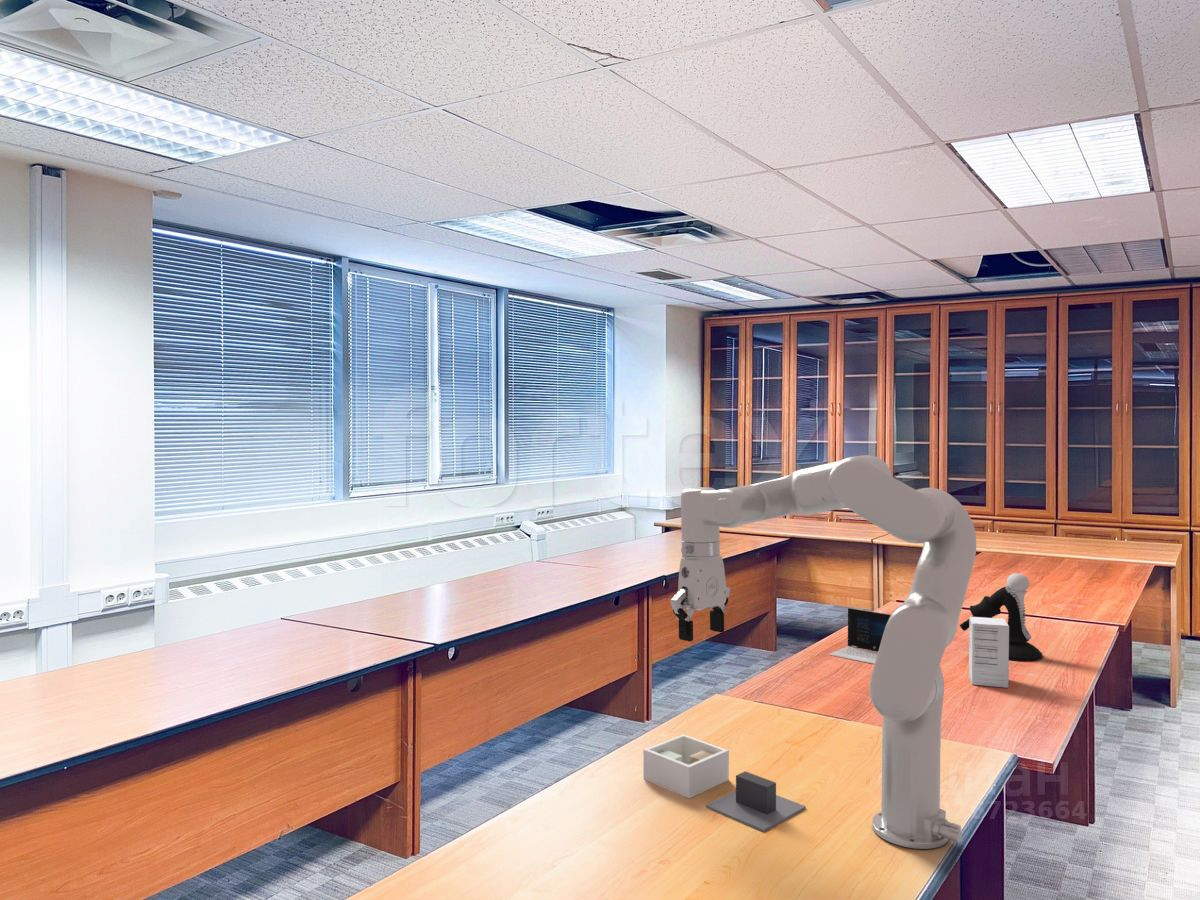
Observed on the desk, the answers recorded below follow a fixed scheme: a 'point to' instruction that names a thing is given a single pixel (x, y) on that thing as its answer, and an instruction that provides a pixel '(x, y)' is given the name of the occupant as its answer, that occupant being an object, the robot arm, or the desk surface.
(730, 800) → the lid
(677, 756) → the sage block
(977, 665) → the supplement box
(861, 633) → the laptop
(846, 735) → the desk surface
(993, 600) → the sculpture
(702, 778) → the storage box
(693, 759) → the birch block
